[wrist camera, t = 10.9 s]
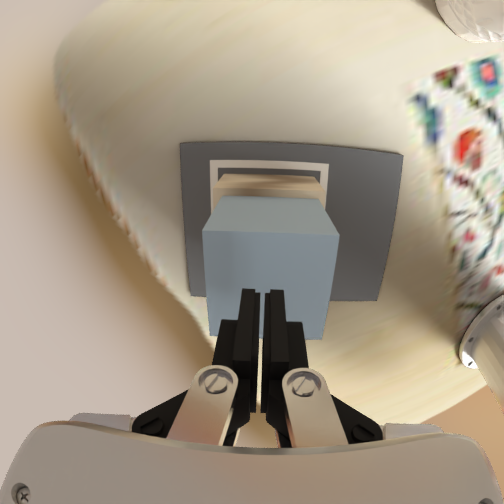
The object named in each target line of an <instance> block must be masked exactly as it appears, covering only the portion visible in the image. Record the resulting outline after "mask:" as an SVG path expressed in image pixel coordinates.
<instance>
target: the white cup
mask: <svg viewBox="0 0 504 504" xmlns="http://www.w3.org/2000/svg"><path fill="white" fill-rule="evenodd" d="M435 2H436V6H437V10H438V12H439V13H440V15H441V17H442V18H443V20H444V22H445V23H446V25H448V26H449V27H450V28H451V29H452V30H453V31H454V33H455V34H456V35H458V36H459V37H461V38H463V39H465V40H466V41H468V42H473V43H483V42H503V41H504V0H435Z"/></svg>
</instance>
